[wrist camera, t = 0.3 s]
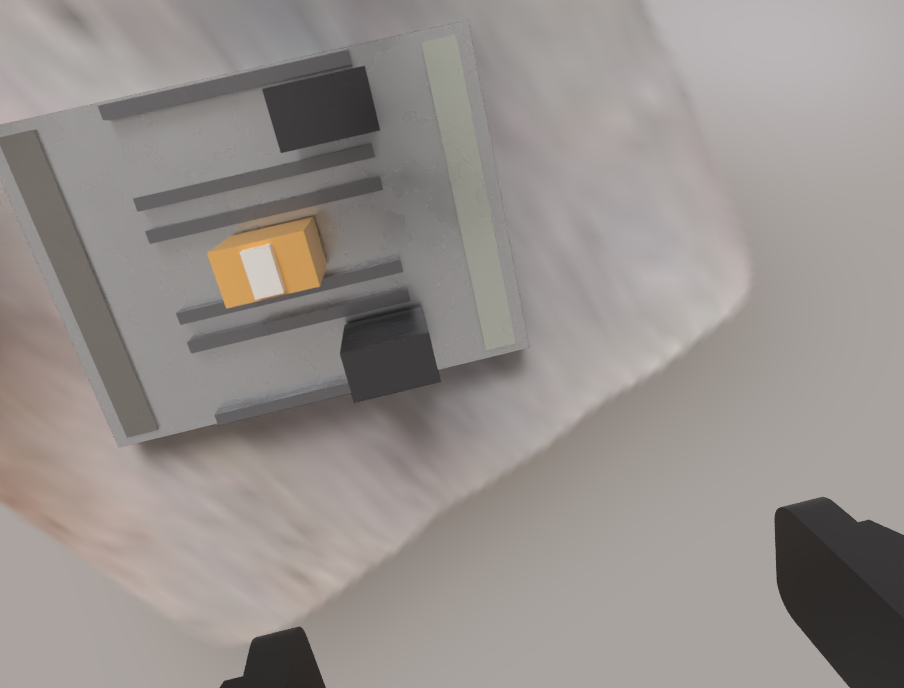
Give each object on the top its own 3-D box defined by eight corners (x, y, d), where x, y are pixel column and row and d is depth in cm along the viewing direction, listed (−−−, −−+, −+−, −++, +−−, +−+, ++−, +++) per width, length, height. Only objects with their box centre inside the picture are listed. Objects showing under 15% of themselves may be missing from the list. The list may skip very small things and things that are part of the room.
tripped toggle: (229, 236, 30) (203, 256, 26) (313, 216, 30) (302, 232, 26) (246, 284, 31) (223, 312, 26) (327, 265, 31) (318, 290, 27)
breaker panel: (3, 129, 30) (-99, 130, 24) (462, 26, 31) (485, 0, 24) (132, 430, 35) (78, 497, 29) (521, 336, 36) (552, 381, 30)
